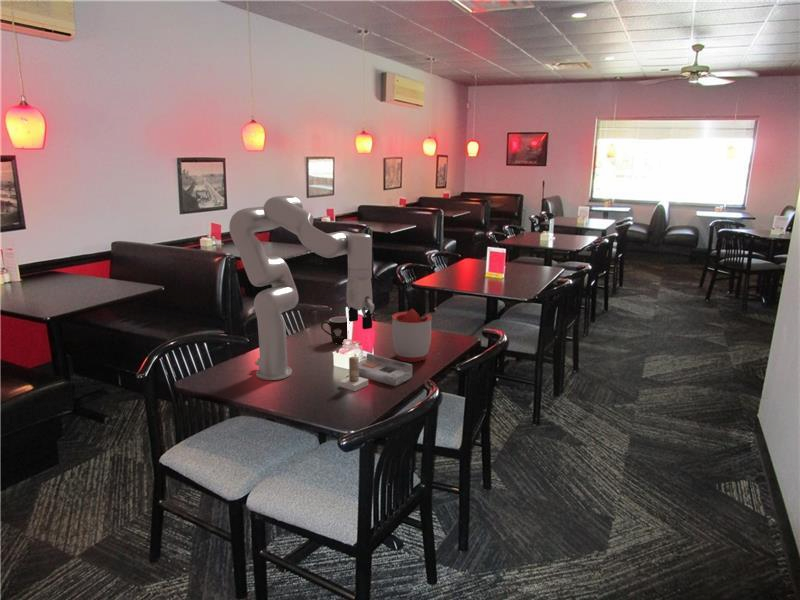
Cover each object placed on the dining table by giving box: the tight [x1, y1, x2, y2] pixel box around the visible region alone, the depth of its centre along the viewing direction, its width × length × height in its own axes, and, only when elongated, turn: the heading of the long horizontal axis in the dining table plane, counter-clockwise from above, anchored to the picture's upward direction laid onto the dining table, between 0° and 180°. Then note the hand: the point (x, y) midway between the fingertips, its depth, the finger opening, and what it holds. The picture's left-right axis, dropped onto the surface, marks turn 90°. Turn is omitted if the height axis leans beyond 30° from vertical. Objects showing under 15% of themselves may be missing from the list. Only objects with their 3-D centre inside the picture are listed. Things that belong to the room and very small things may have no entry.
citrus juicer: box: [391, 308, 433, 363], centre depth 219 cm, size 16×17×20 cm
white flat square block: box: [339, 376, 369, 392], centre depth 193 cm, size 7×7×2 cm
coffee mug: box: [320, 316, 348, 345], centre depth 239 cm, size 12×9×10 cm
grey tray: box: [359, 352, 413, 387], centre depth 202 cm, size 20×10×5 cm, turn 55°
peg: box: [348, 356, 360, 382], centre depth 192 cm, size 3×3×8 cm
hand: (360, 324), depth 182 cm, fingers open, 9 cm apart
